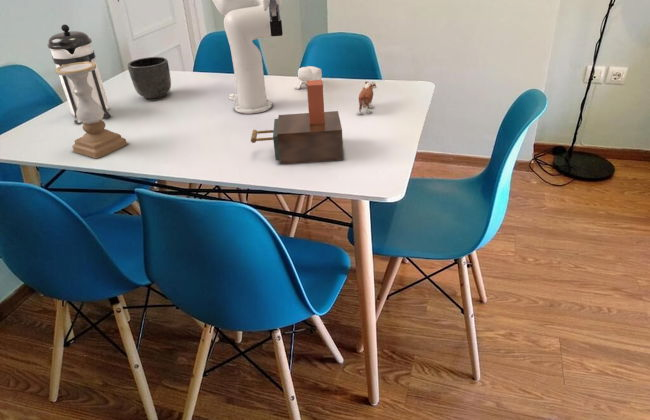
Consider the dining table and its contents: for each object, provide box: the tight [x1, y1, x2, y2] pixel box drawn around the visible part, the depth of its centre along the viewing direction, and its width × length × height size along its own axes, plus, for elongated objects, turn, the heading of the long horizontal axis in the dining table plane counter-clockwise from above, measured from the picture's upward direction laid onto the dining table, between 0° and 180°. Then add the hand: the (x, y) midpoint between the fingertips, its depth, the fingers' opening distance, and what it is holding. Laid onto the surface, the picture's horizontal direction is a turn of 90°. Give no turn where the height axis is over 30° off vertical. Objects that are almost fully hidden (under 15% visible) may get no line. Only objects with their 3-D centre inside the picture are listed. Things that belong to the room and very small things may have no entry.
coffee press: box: [47, 23, 112, 125], centre depth 162 cm, size 17×16×30 cm
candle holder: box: [54, 62, 128, 159], centre depth 139 cm, size 11×11×24 cm
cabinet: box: [277, 110, 344, 165], centre depth 134 cm, size 17×14×9 cm
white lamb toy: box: [295, 65, 323, 90], centre depth 182 cm, size 9×8×15 cm
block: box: [306, 79, 325, 125], centre depth 129 cm, size 4×4×10 cm
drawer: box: [250, 118, 280, 161], centre depth 134 cm, size 22×12×7 cm, turn 93°
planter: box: [127, 56, 172, 101], centre depth 180 cm, size 14×14×13 cm
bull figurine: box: [358, 79, 378, 115], centre depth 159 cm, size 4×13×8 cm, turn 161°
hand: (276, 35), depth 139 cm, fingers closed
